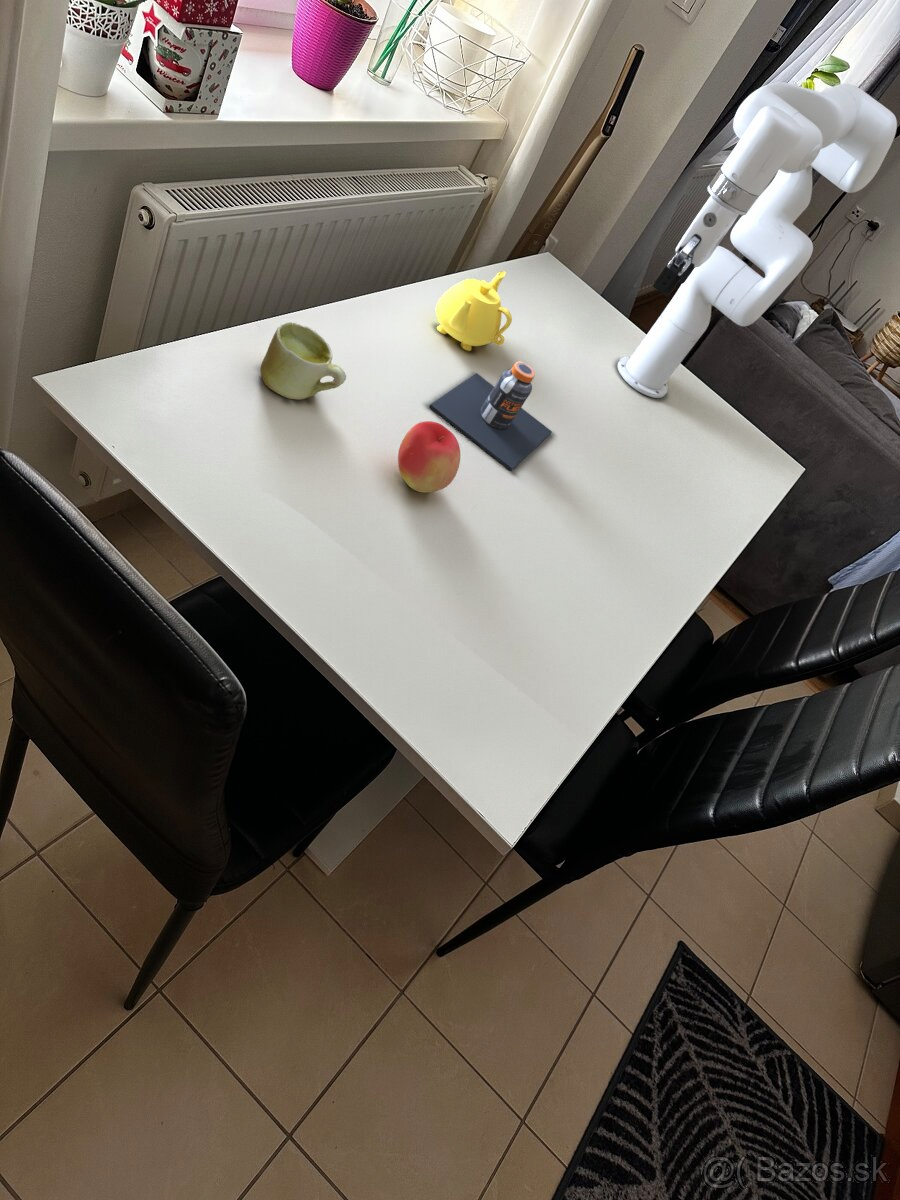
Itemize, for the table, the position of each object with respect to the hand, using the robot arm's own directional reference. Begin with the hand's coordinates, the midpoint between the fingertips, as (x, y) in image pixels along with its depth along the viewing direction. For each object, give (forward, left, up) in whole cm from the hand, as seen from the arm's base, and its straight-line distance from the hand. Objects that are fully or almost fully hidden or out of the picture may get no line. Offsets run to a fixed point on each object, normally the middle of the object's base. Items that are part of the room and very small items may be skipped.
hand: (668, 284), depth 147 cm
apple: (+48, -10, -31) cm, 58 cm away
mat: (+20, -10, -30) cm, 38 cm away
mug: (+48, -34, -31) cm, 66 cm away
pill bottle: (+20, -10, -30) cm, 37 cm away
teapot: (+2, -27, -31) cm, 41 cm away
